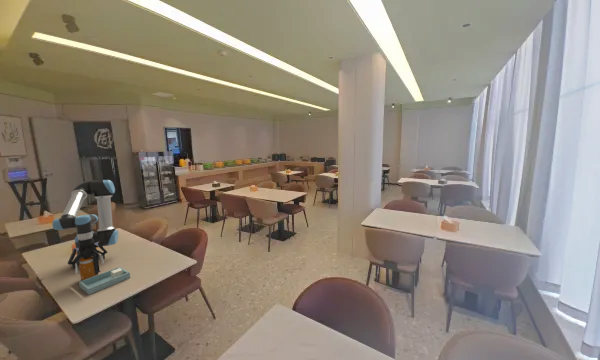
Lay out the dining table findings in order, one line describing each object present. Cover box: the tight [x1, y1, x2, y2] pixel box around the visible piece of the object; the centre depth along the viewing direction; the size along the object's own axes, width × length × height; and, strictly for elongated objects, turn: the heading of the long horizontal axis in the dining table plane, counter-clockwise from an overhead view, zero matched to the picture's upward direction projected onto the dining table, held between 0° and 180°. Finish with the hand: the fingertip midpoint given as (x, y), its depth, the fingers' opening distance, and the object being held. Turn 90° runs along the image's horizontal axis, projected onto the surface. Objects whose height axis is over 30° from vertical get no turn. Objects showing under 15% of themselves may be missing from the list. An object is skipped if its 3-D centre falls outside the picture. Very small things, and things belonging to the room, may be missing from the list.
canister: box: [78, 251, 101, 281], centre depth 158 cm, size 9×11×20 cm
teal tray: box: [78, 266, 131, 296], centre depth 154 cm, size 16×22×4 cm
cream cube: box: [111, 268, 123, 279], centre depth 159 cm, size 5×5×5 cm
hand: (90, 268), depth 158 cm, fingers open, 13 cm apart
